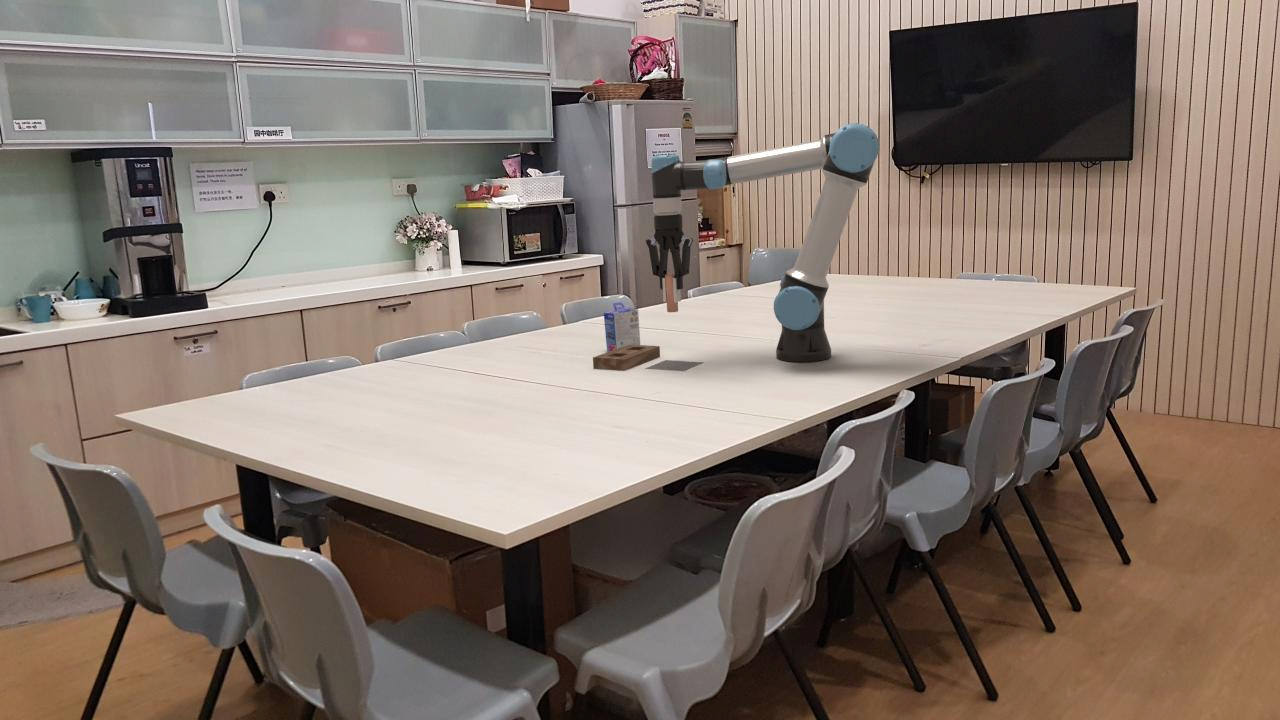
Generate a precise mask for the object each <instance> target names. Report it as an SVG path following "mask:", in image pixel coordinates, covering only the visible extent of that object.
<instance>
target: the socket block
mask: <svg viewBox="0 0 1280 720" xmlns="http://www.w3.org/2000/svg"><path fill="white" fill-rule="evenodd" d="M660 348H661V347H660V345H645V344H643V345H642V344H640V345H627V346H624V347H621V348H618V349H616V350H613V351H610V352H607V351H606V352H605V353H601V354H599V355H596V356H593V357H592V366H593V369H594V370H607V371H608V370H609V371H623V372H624V371H628V370H630V369H634V368H635V367H638V366H641V365H644V364H646V363H648V362H651V361H653V360H655V359H658V358H660V357H661V351H660V350H661V349H660Z"/></svg>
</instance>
